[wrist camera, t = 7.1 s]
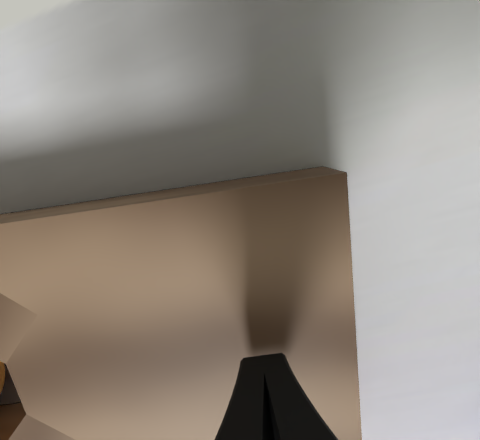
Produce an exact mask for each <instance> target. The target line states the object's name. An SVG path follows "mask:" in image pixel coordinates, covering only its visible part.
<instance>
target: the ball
mask: <svg viewBox="0 0 480 440" xmlns="http://www.w3.org/2000/svg"><path fill="white" fill-rule="evenodd" d="M4 380H5V366H4V363H3V362H1V361H0V394H1V392H2V389H3V385H4Z"/></svg>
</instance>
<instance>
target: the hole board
mask: <svg viewBox="0 0 480 440" xmlns="http://www.w3.org/2000/svg"><path fill="white" fill-rule="evenodd" d="M275 353H283V354H284V355H285V356H286V359H287V361H288V363H289V365H290V367H291V369H292V371H293V373H294V375H295V377H296V379H297V380H298V382H299V384H300V386H301V387H302V389H303V390H304V392H305V394H306V395H307V397H308V398H309V400H310V401H311V403H312V404H313V406H314V407H315V409H316V410H317V412H318V413H319V414H320V416H321V417H322V419H323V420H324V421H325V423H326V424H327V425H328V427H329V428H330V429H331V431H332V432H333V433H334V435H335V436H336V437H337V439H338V440H362V434H361V417H360V399H359V381H358V364H357V346H356V328H355V311H354V293H353V275H352V257H351V240H350V222H349V204H348V187H347V173H346V172H342V171H339V170H335V169H331V168H327V167H324V166H322V167H316V168H309V169H302V170H295V171H289V172H282V173H275V174H268V175H262V176H255V177H248V178H242V179H235V180H228V181H221V182H215V183H208V184H201V185H195V186H188V187H181V188H174V189H168V190H161V191H154V192H148V193H141V194H134V195H127V196H121V197H114V198H107V199H100V200H94V201H87V202H80V203H74V204H67V205H60V206H53V207H47V208H40V209H33V210H27V211H20V212H13V213H6V214H0V361H1V362H3V363H5V364H6V366H7V368H8V371H9V373H10V376H11V378H12V380H13V383H14V385H15V388H16V390H17V393H18V395H19V398H20V400H21V403H16V404H9V405H1V406H0V440H215V437H216V435H217V433H218V430H219V428H220V425H221V423H222V421H223V418H224V415H225V413H226V410H227V407H228V404H229V401H230V399H231V396H232V393H233V389H234V386H235V383H236V379H237V376H238V371H239V367H240V361H241V360H242V359H243V358H245V357H253V356H260V355H268V354H275Z"/></svg>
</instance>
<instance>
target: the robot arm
mask: <svg viewBox="0 0 480 440" xmlns="http://www.w3.org/2000/svg"><path fill="white" fill-rule="evenodd" d="M215 440H338V439H337V437H336V436H335V435H334V433H333V432H332V431H331V429H330V428H329V427H328V425H327V424H326V423H325V421H324V420H323V419H322V417H321V416H320V414H319V413H318V412H317V410H316V409H315V407H314V406H313V404H312V403H311V401H310V400H309V398H308V397H307V395H306V394H305V392H304V390H303V389H302V387H301V386H300V384H299V382H298V380H297V379H296V377H295V375H294V373H293V371H292V369H291V367H290V365H289V363H288V361H287V359H286V356H285V355H284V354H283V353H275V354H268V355H260V356H253V357H245V358H243V359H242V360H241V361H240V367H239V371H238V376H237V379H236V383H235V386H234V389H233V393H232V396H231V399H230V401H229V404H228V407H227V410H226V413H225V415H224V418H223V421H222V423H221V425H220V428H219V430H218V433H217V435H216V437H215Z"/></svg>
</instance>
